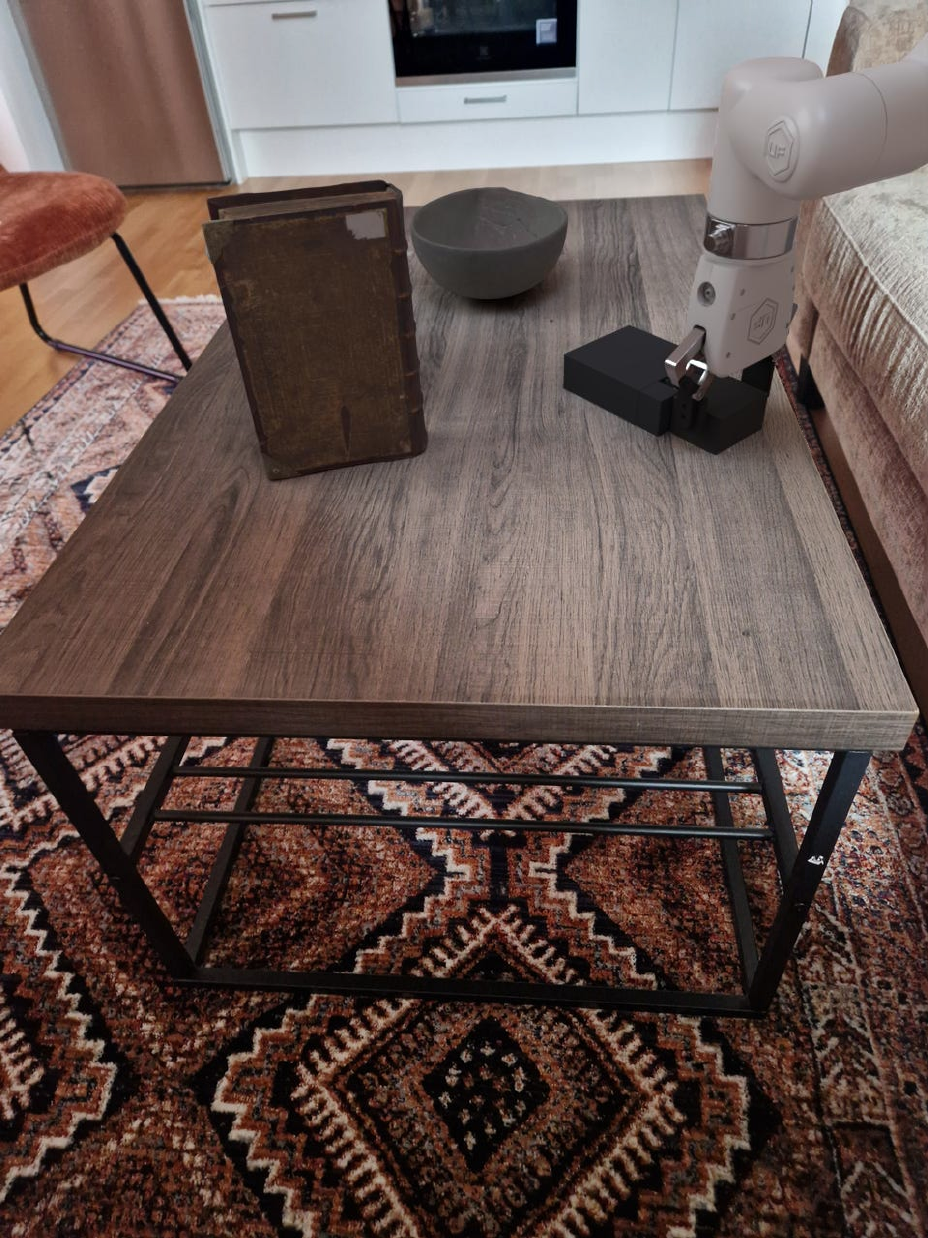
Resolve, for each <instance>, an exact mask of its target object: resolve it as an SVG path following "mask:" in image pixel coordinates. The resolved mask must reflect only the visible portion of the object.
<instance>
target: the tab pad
mask: <svg viewBox="0 0 928 1238" xmlns="http://www.w3.org/2000/svg"><path fill="white" fill-rule="evenodd" d="M700 378H701V375H698V374H696V373H693V375H692V377H691V379H692V380H693V381H694V382H695V383H696V384H697V383H698V381H699V380H700ZM668 379H669V378H668ZM668 379H666V380H665V384H666V385H668V386H670V387H672V388H674V387H673V386H672V385H671V384H670V383H669V381H668ZM768 395H769V393H767V392H765V391H763V390H760V389H758V388H756V387H753V386H751V385H749V384H746V383H744V382H742V381H741V380H740V379H737V378H735V377H733V376H731V375H730V376H728V377H724V378H720V377H717V376H716V375H715V377H714V379H713V381H712V382H711V384H710V386H709V388H708V389H707V391H706V393H705V395H704V396H705V397H707V398H708V406H707V413H706V420H705V427H704V432H703V434H702V435H700V436H698V437H697V436H695V435H693V434H691V433H689V432H686V431H684V430H682V429H680V428H678V427H676V426H675V423H674V420H675V411H676V403H677V395H675V396H673V403H672V412H671V421H670V429H669V431H668V432H669V433H671V434H673V435H675V436H677V437H678V438H681V439H682V440H684V441H687V442H689V443H691V444H692V445H694V446H696V447H698V448H700V449H703V450H705V451H706V452H708V453H710V454H712V455H714V456H717V455H718V454H720V453H723V452H724V451H725V450H728V449H729V448H731V447H733V446H734V445H736V444H737V443H739V442H741V441H743V440H745V439H746V438H748V437H749V436H752V435H753V434H755V433H757V432H758V431H761V430H762V429H763V424H764V419H765V414H766V410H767V409H766V408H767V404H768V400H769V398H768ZM769 396H770V395H769Z"/></svg>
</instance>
